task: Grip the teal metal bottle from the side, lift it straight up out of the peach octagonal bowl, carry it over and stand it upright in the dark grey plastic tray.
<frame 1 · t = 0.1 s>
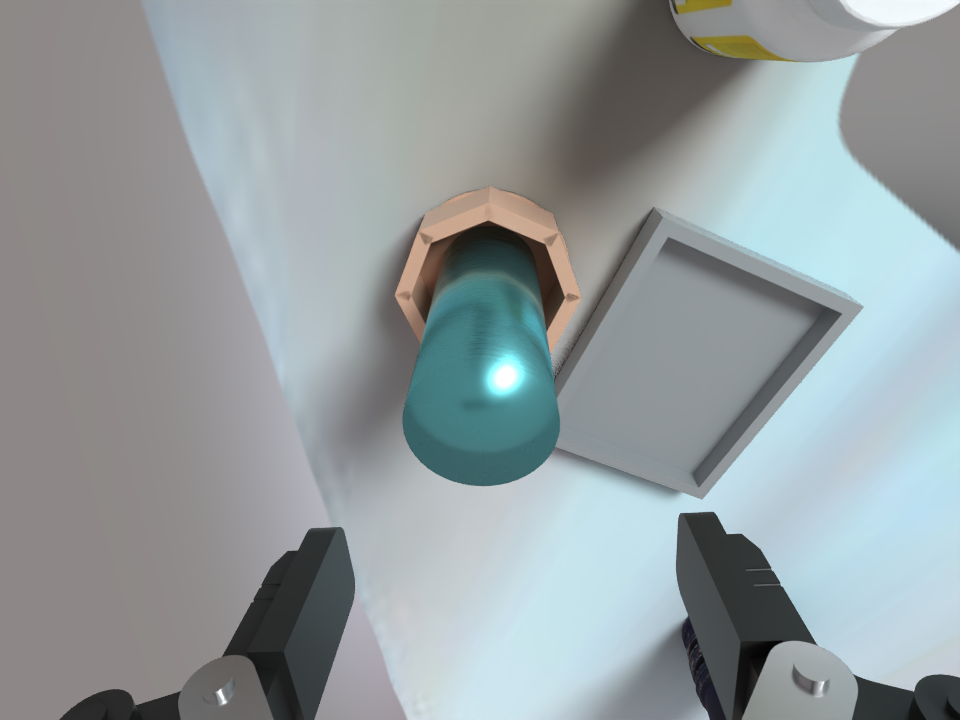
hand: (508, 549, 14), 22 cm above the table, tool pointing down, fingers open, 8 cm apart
dark blue barrel: (737, 626, 50), on the table
bottle: (488, 272, 33), resting on peach octagonal bowl
peach octagonal bowl: (489, 269, 33), on the table
tray: (676, 361, 36), on the table
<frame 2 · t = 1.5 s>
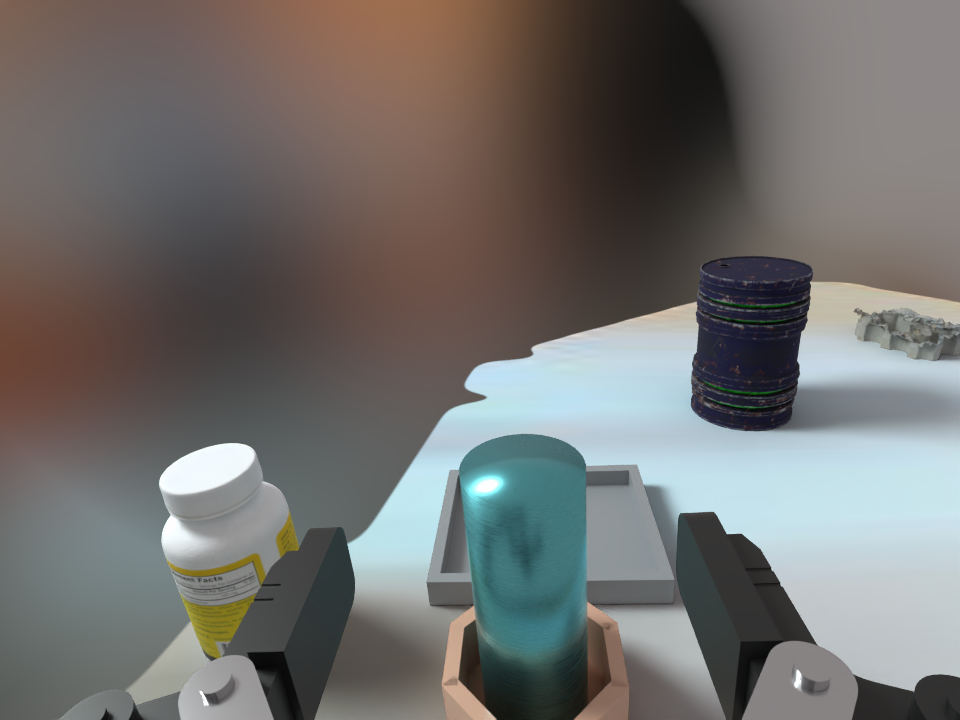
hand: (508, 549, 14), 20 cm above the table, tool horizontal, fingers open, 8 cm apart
dark blue barrel: (739, 409, 59), on the table
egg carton: (904, 346, 71), on the table
bottle: (536, 698, 31), resting on peach octagonal bowl
peach octagonal bowl: (536, 704, 31), on the table
supplement bottle: (262, 632, 37), on the table
tray: (545, 537, 43), on the table
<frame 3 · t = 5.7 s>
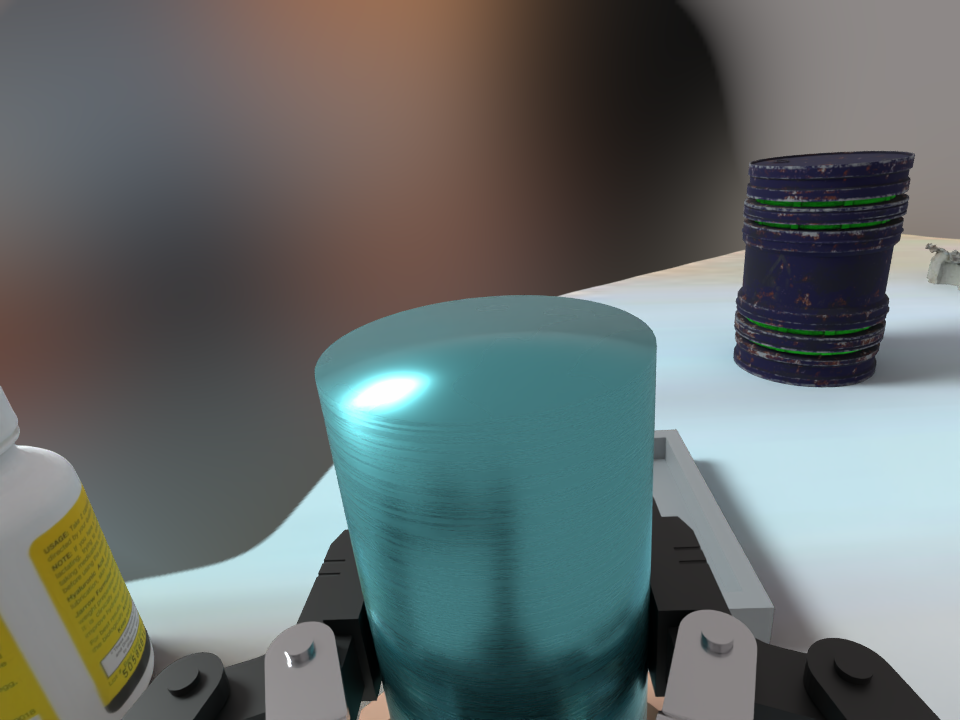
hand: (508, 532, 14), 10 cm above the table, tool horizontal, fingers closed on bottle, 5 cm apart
dark blue barrel: (800, 363, 44), on the table
supplement bottle: (56, 714, 22), on the table
tray: (544, 539, 28), on the table
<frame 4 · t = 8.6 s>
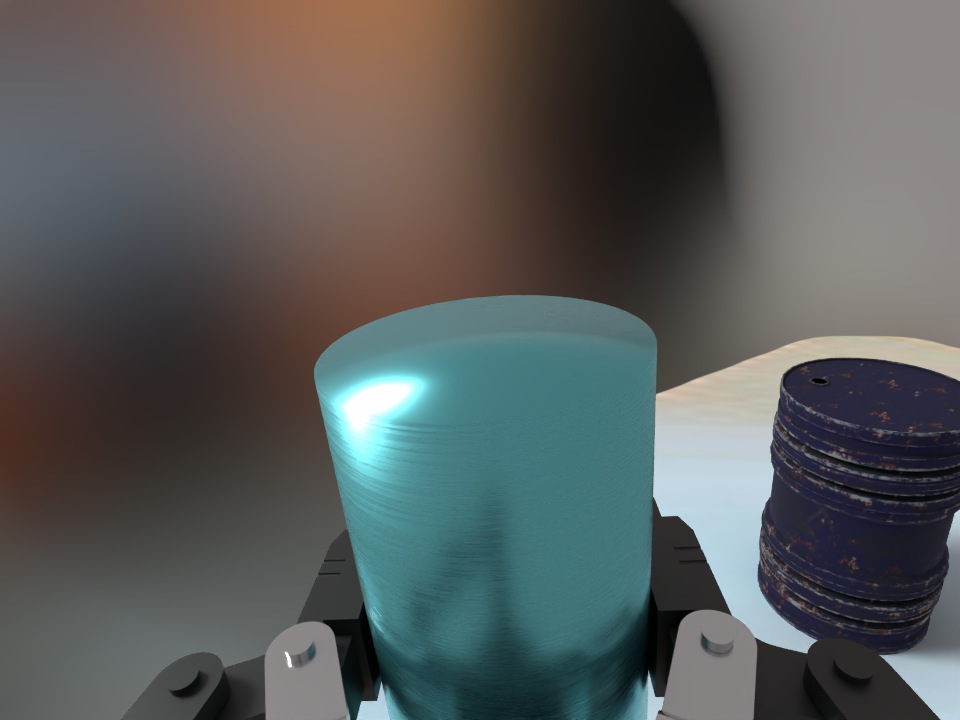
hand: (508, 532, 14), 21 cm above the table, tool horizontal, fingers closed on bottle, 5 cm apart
dark blue barrel: (837, 594, 38), on the table
when the fingers open (11 cm above the table, at t = 11.7 s): bottle drops 1 cm, resting on tray.
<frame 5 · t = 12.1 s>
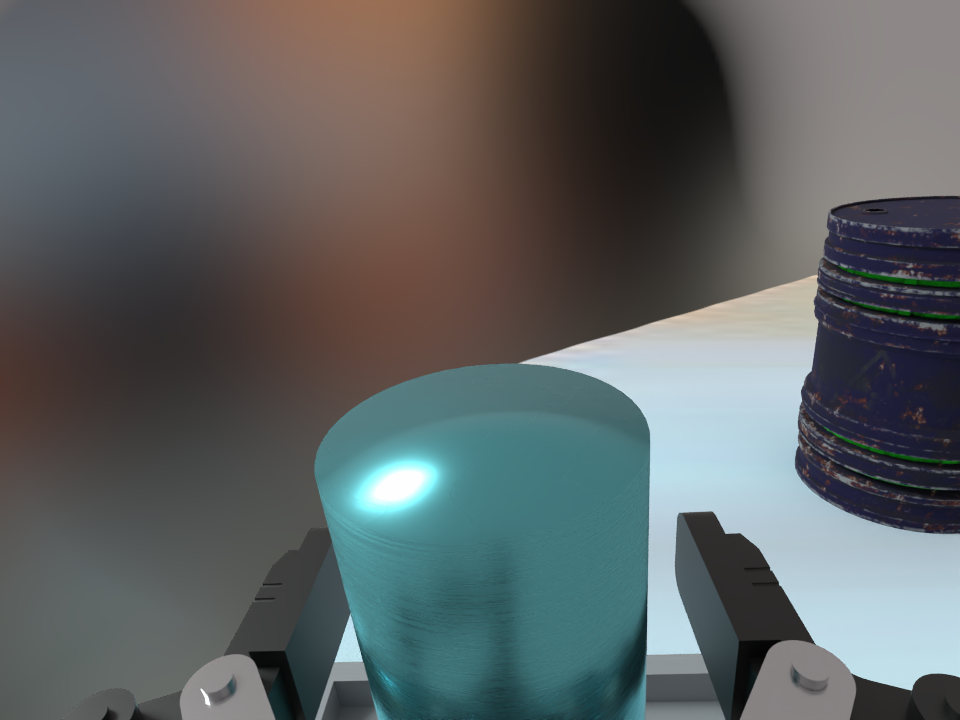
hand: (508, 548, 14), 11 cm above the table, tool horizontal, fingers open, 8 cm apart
dark blue barrel: (889, 480, 32), on the table
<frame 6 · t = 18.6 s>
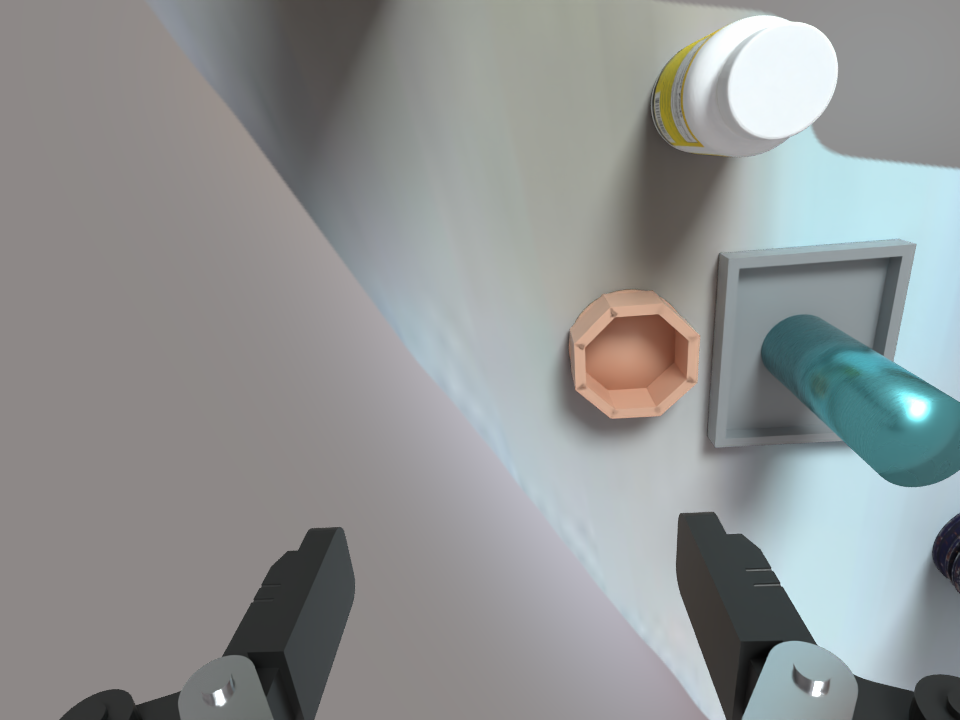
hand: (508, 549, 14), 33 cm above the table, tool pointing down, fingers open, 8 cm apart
bottle: (797, 347, 45), point 1 cm above the table, touching tray
peach octagonal bowl: (626, 344, 46), on the table
supplement bottle: (699, 98, 39), on the table
tray: (795, 344, 46), on the table
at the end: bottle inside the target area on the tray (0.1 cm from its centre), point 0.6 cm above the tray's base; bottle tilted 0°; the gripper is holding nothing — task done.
